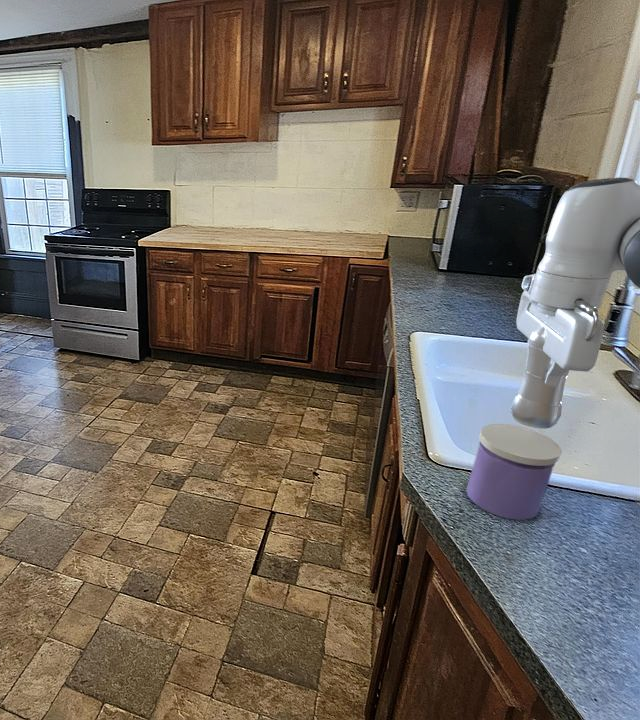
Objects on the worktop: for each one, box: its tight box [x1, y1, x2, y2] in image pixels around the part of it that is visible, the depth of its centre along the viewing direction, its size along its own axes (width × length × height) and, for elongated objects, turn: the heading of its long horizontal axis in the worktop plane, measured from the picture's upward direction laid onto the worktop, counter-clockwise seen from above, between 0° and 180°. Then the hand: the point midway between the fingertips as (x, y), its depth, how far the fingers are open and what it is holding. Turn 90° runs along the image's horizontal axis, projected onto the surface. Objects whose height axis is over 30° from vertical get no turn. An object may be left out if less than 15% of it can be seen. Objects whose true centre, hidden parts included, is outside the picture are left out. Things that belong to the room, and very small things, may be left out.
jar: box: [465, 423, 562, 521], centre depth 92 cm, size 12×12×12 cm
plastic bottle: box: [510, 314, 570, 430], centre depth 84 cm, size 6×7×20 cm
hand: (540, 375), depth 85 cm, fingers closed on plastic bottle, 6 cm apart
